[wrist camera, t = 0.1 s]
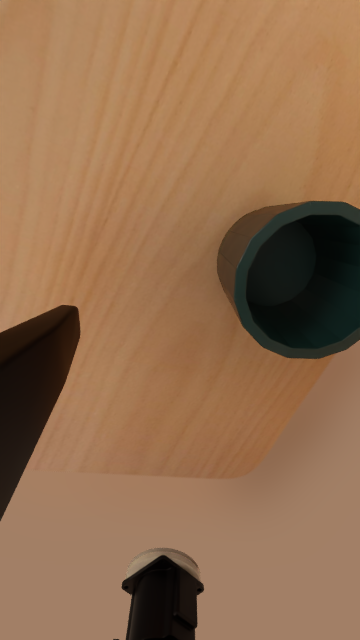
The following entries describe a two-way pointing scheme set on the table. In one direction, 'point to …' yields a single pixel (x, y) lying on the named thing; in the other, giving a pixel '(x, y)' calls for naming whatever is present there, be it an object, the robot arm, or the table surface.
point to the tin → (296, 277)
